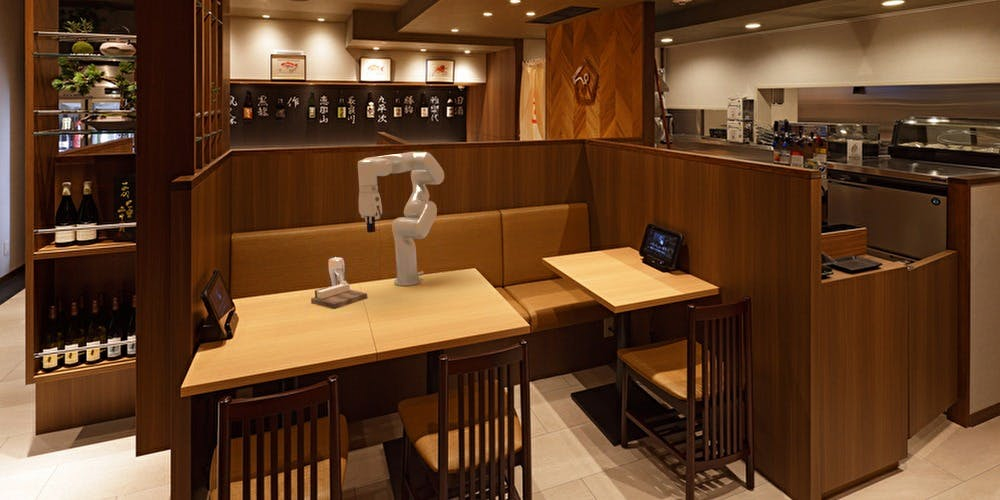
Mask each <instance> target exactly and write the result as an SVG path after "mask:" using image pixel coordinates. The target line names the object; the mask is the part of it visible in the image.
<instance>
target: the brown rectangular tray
mask: <svg viewBox="0 0 1000 500" xmlns="http://www.w3.org/2000/svg"><path fill="white" fill-rule="evenodd" d="M329 287H332V285H329V286H326V287H325V286H324V287H322V288H319V289H316V290H315V289H314V297H311V298H310V300H311V301H310V302H311V304H314V305H318V306H322V307H326V308H330V309H334V310H335V309H337V308H341V307H344V306H346V305H349V304H353V303H356V302H358V301H362V300H365V299H368V293H367V292H363V291H359V290H353V289H350V291H347V292H343V293H340V294H337V295H333V296H330V297H327V298H323V299H320V298H317V291H319V290H322V289H326V288H329Z"/></svg>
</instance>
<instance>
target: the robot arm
mask: <svg viewBox="0 0 1000 500" xmlns="http://www.w3.org/2000/svg"><path fill="white" fill-rule="evenodd" d="M357 172H358V173H357V174H358V187H359V190H358V191H359V193H358V212H359V215H360V217H361V218H362V219H364V220H365V223H366V230H367V231H366V232H367V233H374V232H376V223H377V220H380V219H381V216H382V215H383V205H382V200H381V196H380V192H379V191H378V190H379V187H378V177H385V176H388V175H390V174H401V173H406V172H410V179H411V184H412V193H411V195H410V197H409V199H408V201H407V202H406V204H405V207H404V208H403V209H404V210H403V215H404V216H403V217H402V216H401V217H397V218H395V219H394V220H393V222H392V224H391V231H392V234H393V240H394V246H395V248H394V249H395V262H396V263H395V265H396V266H395V267H396V279H395V280H393V284H394V285H396V286H400V287H411V286H416V285H419V284H420V283H421V282H422V280H421V278H420V277H421V276H423V275H424V274H425V273H424V271H423V270H422V271H418V267H417V266H418V264H417V250H416V249H417V247H416V243H415V239H417V240H418V239H420V240H422V239H424V238H426V237H427V235H428V234H429V233H430V230H431V228H432V226H433V224H434V222H435V220H436V218H437V213H438V208H437V207H438V206H437V205H436V203H435V202H433V201H432V200H429V199H430V193H429V190H428V188H427V187H426V186H427V185H440V184H441V183H443V182H444V180H445V172H444V170H443V168H442V167H441V165H440V163H439V162H438V161H437V159H435V157H434V156H433V155H432V154H431V153H430V152H428V151H407V152H403V153H396V154H387V155H380V156H379V155H378V156H371V157H366V158H365V157H364V158H363V159H360V160H358V161H357Z"/></svg>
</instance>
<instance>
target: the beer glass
mask: <svg viewBox="0 0 1000 500" xmlns="http://www.w3.org/2000/svg"><path fill="white" fill-rule="evenodd" d="M345 269H346V268H345V261H344V258H343V257H341V256H340V257H339V256H337V257H336V256H335V257H330V258H328V272H329V278H330V279H331V281H330V282H331V287H333V286H336V285H340V284H342V281H345V272H346V271H345Z"/></svg>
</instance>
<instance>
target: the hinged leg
mask: <svg viewBox="0 0 1000 500" xmlns="http://www.w3.org/2000/svg"><path fill="white" fill-rule="evenodd" d="M328 287H329V286H328ZM321 289H322V288H321ZM350 290H351V289H350V283H348V282H347V280H344V281H342V284H340V285H336V286H333V287H332V286H331V287H329V288H326V289H322V290H319V291H317V298H320V299H323V298H327V297H330V296H333V295H337V294H340V293H343V292H347V291H350Z"/></svg>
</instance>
